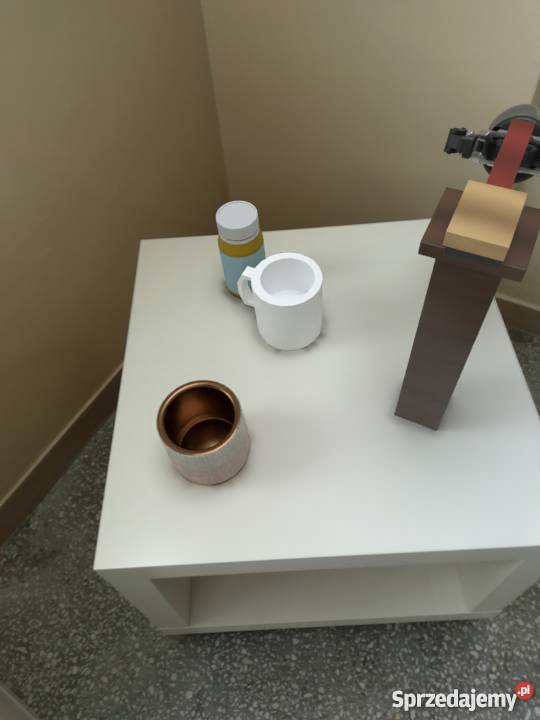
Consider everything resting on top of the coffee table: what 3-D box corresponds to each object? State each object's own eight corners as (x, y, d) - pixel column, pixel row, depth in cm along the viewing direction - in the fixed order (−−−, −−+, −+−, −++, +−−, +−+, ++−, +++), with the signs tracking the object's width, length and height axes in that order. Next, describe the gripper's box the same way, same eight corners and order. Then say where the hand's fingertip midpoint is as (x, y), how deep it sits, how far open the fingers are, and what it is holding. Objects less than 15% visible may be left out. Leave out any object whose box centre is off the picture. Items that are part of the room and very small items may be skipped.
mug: (227, 330, 84) (217, 285, 75) (257, 286, 89) (250, 238, 80) (305, 359, 80) (304, 315, 71) (332, 310, 85) (334, 264, 76)
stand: (400, 372, 78) (446, 186, 50) (461, 394, 75) (545, 210, 48) (381, 416, 74) (420, 241, 46) (445, 441, 71) (526, 270, 44)
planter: (242, 406, 76) (234, 370, 68) (257, 476, 70) (250, 445, 62) (168, 423, 76) (151, 388, 68) (177, 495, 70) (159, 466, 62)
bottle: (230, 267, 92) (217, 197, 79) (270, 269, 91) (263, 199, 78) (223, 298, 88) (208, 230, 75) (264, 301, 87) (256, 232, 75)
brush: (493, 131, 54) (501, 106, 52) (544, 142, 53) (554, 115, 51) (439, 255, 45) (446, 231, 43) (499, 272, 44) (509, 247, 42)
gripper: (469, 104, 66) (451, 101, 53) (591, 127, 62) (606, 130, 49) (449, 167, 70) (428, 179, 56) (564, 192, 66) (571, 212, 52)
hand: (511, 156), depth 53 cm, fingers open, 8 cm apart
